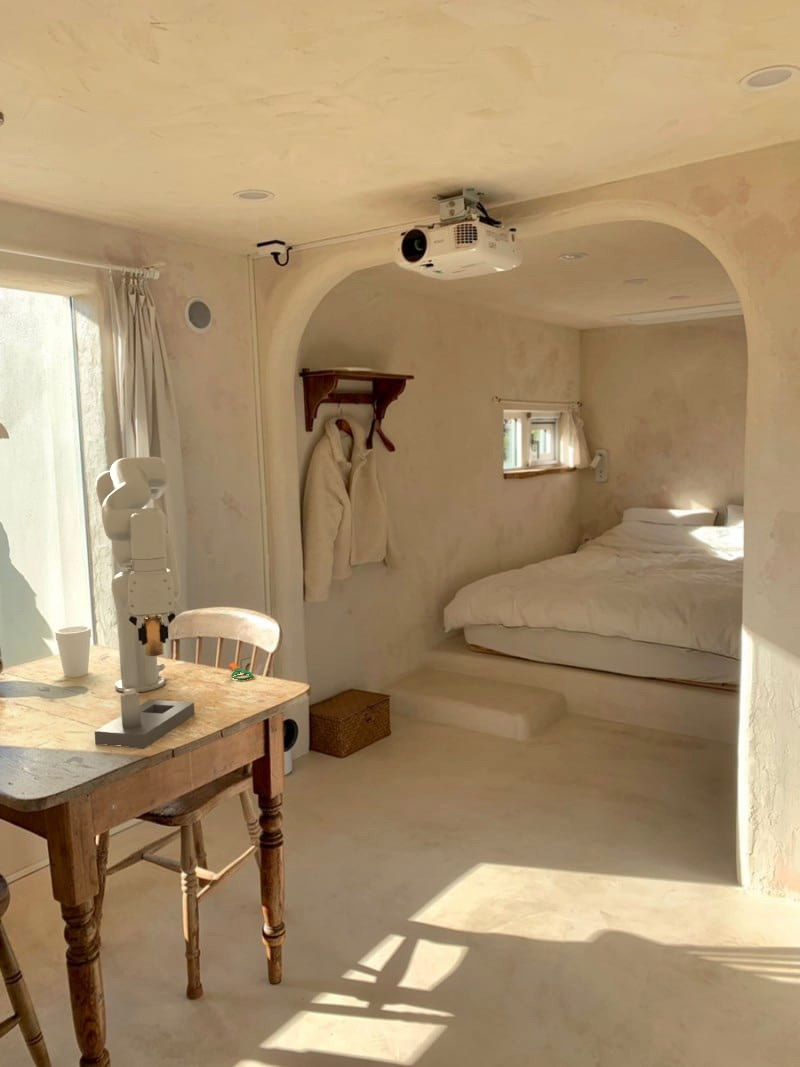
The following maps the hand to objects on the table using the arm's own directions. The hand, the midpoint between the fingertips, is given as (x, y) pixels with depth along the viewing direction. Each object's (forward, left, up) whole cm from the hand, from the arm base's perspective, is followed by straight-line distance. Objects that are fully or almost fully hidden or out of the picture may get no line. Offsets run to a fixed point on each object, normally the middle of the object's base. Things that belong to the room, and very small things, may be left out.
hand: (153, 642), depth 190 cm
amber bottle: (0, 0, -3) cm, 3 cm away
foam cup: (-31, -45, -19) cm, 58 cm away
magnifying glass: (-40, +1, -20) cm, 45 cm away
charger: (+5, 0, -19) cm, 20 cm away
